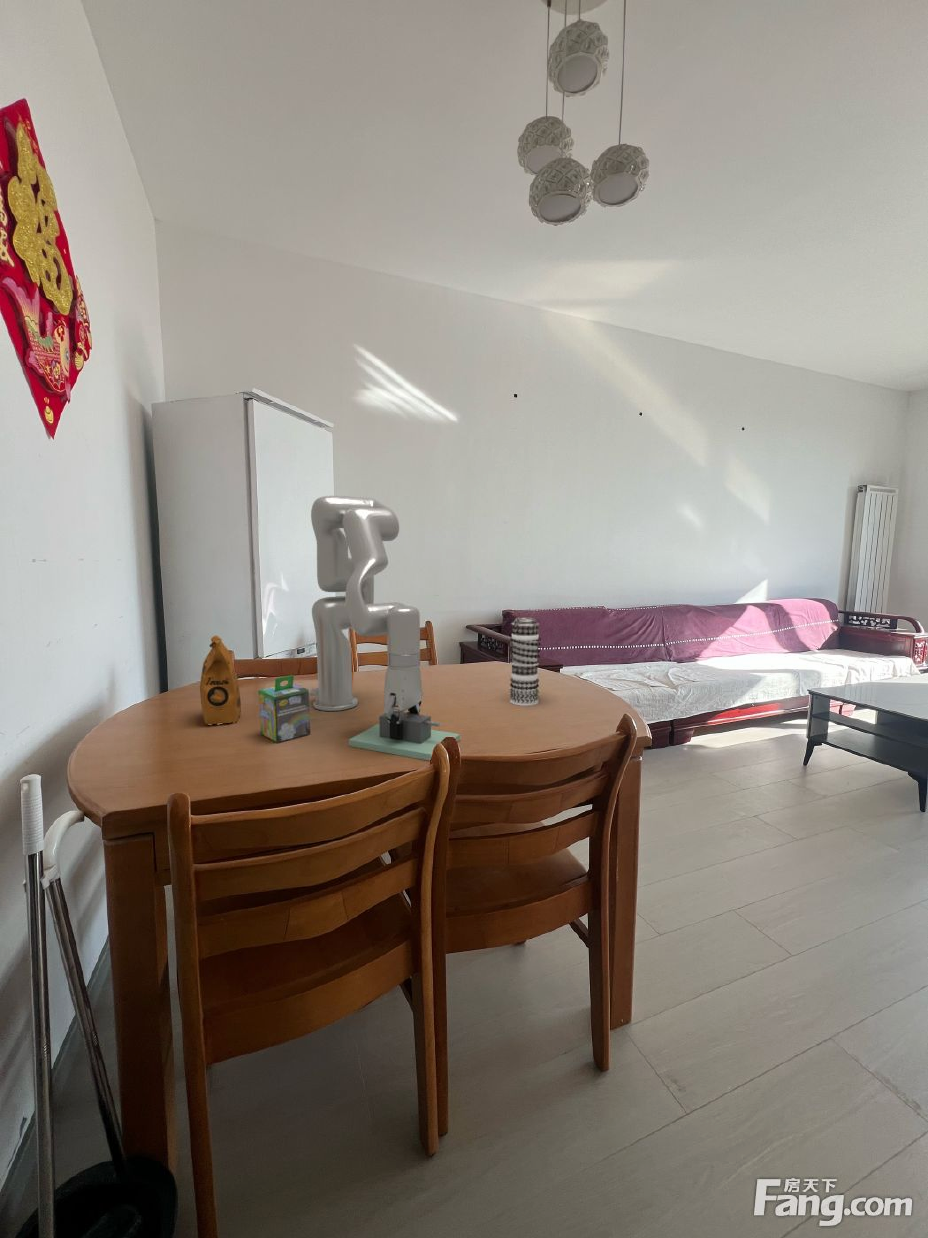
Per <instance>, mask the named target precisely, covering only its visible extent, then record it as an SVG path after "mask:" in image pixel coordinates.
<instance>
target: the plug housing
mask: <svg viewBox="0 0 928 1238" xmlns="http://www.w3.org/2000/svg"><path fill="white" fill-rule="evenodd" d="M394 714H395V715H396V716H397V717H398V713H397V712H395V713H394ZM378 718H379V720H378V721H379V722H378V724H379V728H380V737H383V738H389V739H390V723H389V722H388V719H387V717H386V715H385V714H384V713H383V714H381V715H379V716H378ZM401 723H403V740H401V741H406V742H412V743H418V744H421V743H423V742H424V741H426V740H427V739H429V738H430V737H431V730H432V727H439V726H440V722H438V721H432V716H430V715H422V714H419V715H418V714H411V713H407V712H405V711H403V715H402V720H401Z"/></svg>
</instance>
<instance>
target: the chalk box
mask: <svg viewBox="0 0 928 1238" xmlns="http://www.w3.org/2000/svg"><path fill="white" fill-rule="evenodd" d="M285 681H286V682H287V683H283V684H281V683H282V682H285ZM274 683H275V684H274V685H273V686H270V687H266V688H262V689H258V691H257V692H258V707H259V721H260V734H261V735H263V736H264V737H266V738H267V739H269V740H272V741H273V742H274V743H276V744H279V743H281V742H285V741H290V740H292V739H297V738H300V737H305V736H308V735H311V721H310V720H311V719H310V716H311V715H310V695H309V692H310V691H309V689H308V688H306V687H303V686H301V685H297V684H295V683H294V675H292V674H291V675H286V676H281V677H277V678H275V682H274Z"/></svg>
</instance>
